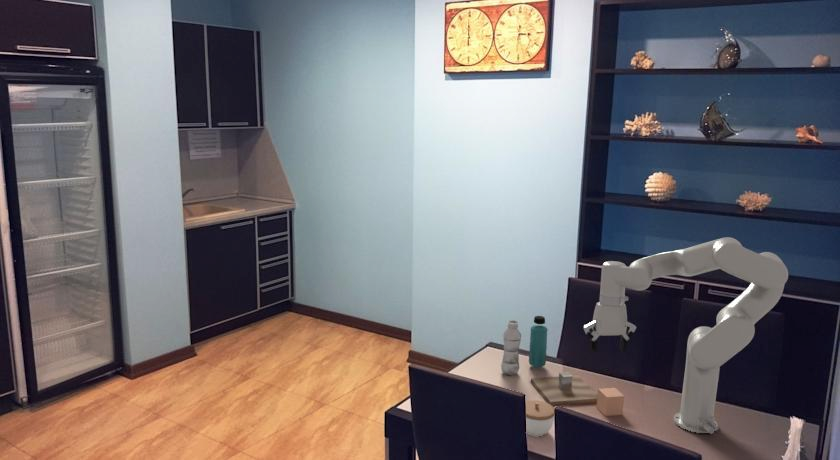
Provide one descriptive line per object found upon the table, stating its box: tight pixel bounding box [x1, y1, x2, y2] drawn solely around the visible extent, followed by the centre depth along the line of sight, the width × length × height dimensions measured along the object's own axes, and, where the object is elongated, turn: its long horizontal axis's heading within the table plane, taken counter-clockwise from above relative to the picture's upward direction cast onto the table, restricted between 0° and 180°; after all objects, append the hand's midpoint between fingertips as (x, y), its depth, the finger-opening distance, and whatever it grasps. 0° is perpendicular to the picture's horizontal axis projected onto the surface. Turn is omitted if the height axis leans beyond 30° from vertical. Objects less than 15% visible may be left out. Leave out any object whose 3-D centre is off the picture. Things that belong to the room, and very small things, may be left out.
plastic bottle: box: [500, 319, 522, 376], centre depth 226 cm, size 6×7×20 cm
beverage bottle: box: [528, 315, 549, 368], centre depth 233 cm, size 6×7×20 cm
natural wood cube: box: [596, 387, 625, 417], centre depth 201 cm, size 6×6×6 cm
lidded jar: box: [525, 399, 555, 438], centre depth 187 cm, size 11×11×9 cm
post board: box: [530, 371, 598, 407], centre depth 214 cm, size 18×18×6 cm
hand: (607, 350), depth 201 cm, fingers open, 9 cm apart
